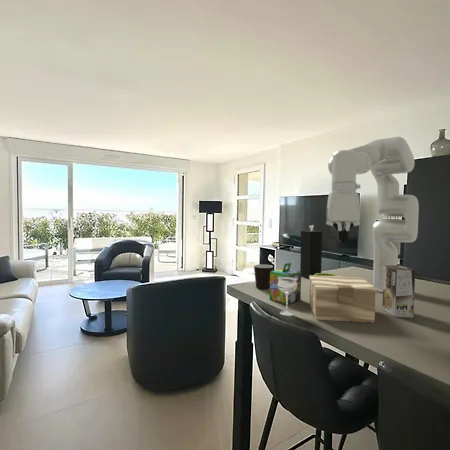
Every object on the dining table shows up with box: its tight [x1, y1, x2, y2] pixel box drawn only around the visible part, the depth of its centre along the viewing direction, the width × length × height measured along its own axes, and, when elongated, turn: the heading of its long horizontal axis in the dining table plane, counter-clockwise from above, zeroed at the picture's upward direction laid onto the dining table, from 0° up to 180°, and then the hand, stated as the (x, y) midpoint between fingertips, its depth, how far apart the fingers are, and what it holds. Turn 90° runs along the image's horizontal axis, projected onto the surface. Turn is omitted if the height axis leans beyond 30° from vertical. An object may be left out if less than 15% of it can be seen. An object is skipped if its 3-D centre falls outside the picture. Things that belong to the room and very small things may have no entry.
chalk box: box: [269, 262, 302, 305], centre depth 120 cm, size 9×9×15 cm
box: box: [309, 279, 376, 324], centre depth 106 cm, size 17×18×10 cm
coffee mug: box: [253, 263, 274, 291], centre depth 138 cm, size 12×9×10 cm
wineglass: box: [277, 277, 297, 317], centre depth 104 cm, size 7×7×12 cm
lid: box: [309, 275, 378, 304], centre depth 105 cm, size 18×19×5 cm
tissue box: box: [299, 224, 323, 280], centre depth 161 cm, size 8×8×28 cm
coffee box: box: [382, 264, 416, 319], centre depth 105 cm, size 9×6×16 cm
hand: (342, 242), depth 103 cm, fingers closed
